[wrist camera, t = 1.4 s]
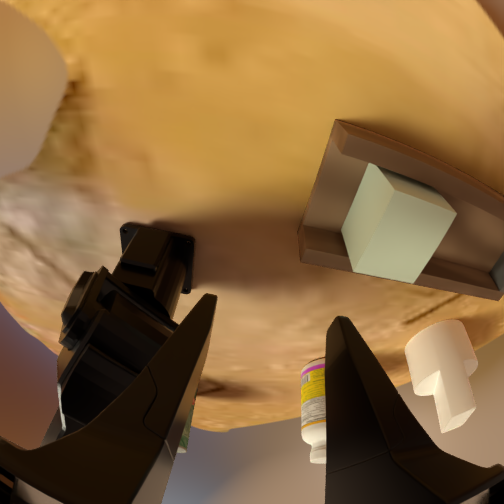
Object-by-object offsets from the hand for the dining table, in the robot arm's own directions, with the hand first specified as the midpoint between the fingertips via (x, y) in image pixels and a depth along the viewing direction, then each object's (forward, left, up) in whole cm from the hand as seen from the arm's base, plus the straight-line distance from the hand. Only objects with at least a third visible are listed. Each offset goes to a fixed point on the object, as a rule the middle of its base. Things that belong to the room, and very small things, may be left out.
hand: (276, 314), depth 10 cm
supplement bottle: (-24, -13, -12) cm, 30 cm away
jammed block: (0, -8, -11) cm, 14 cm away
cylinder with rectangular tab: (-16, -26, -12) cm, 33 cm away
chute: (0, -14, -12) cm, 18 cm away
